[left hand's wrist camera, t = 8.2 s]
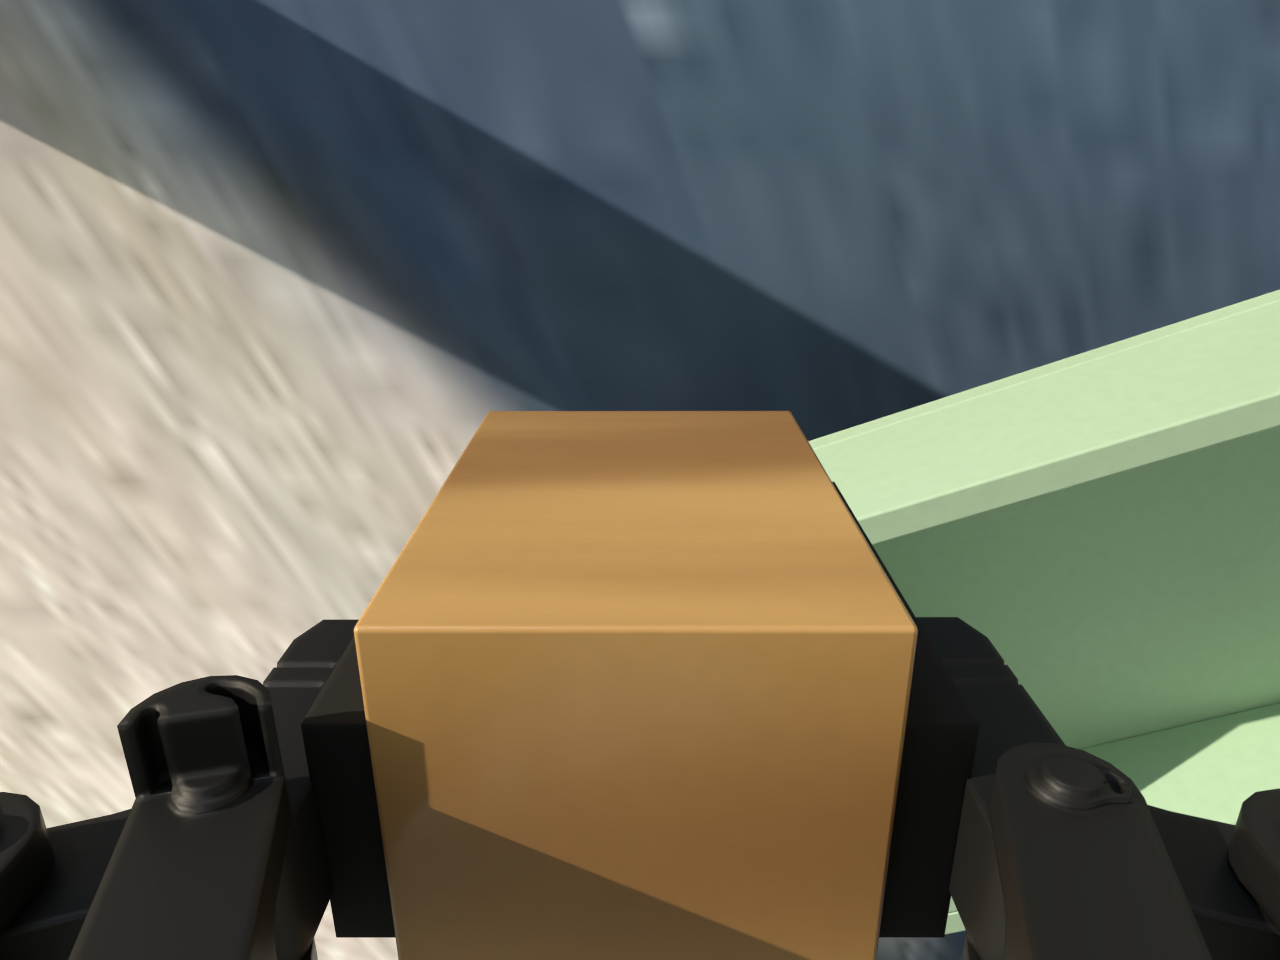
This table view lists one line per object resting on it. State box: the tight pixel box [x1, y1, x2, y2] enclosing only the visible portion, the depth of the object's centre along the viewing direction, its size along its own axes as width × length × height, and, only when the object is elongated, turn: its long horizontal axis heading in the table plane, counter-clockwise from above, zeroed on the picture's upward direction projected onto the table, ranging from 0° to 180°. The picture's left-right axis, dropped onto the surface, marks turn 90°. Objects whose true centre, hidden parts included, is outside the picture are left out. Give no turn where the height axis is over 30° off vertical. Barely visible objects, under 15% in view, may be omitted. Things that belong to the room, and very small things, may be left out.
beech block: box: [354, 411, 918, 960], centre depth 12 cm, size 5×5×7 cm
